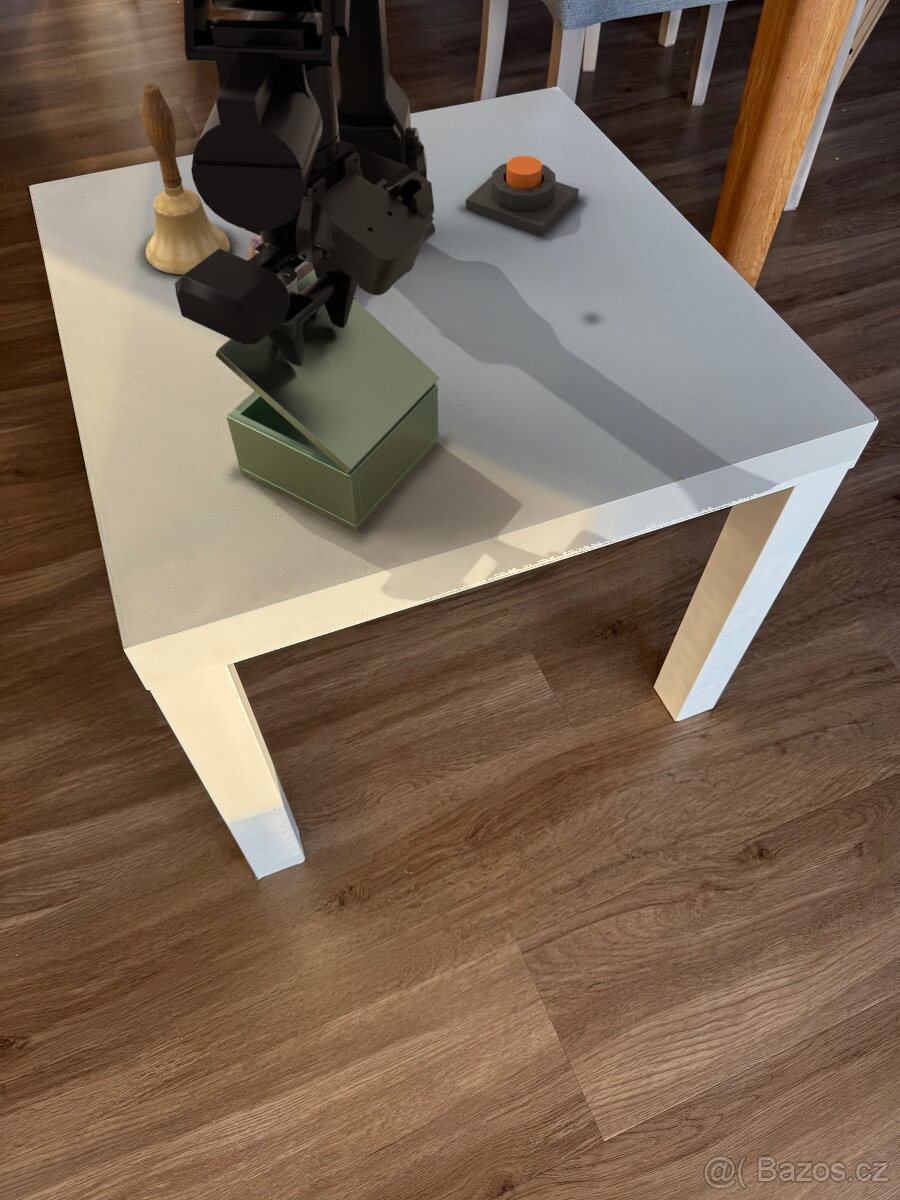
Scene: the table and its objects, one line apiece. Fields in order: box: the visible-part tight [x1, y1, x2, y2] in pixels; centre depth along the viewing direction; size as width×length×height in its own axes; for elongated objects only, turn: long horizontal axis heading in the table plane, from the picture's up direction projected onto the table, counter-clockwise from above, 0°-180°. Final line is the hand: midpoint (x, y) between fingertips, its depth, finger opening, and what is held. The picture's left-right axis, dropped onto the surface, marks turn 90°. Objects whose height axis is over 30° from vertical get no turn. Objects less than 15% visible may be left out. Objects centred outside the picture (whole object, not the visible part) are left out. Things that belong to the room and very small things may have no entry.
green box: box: [226, 383, 439, 533], centre depth 75 cm, size 12×12×6 cm
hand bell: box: [142, 83, 231, 276], centre depth 88 cm, size 8×8×16 cm
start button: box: [506, 155, 543, 189], centre depth 97 cm, size 4×4×2 cm
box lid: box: [215, 269, 440, 474], centre depth 68 cm, size 12×12×5 cm
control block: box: [465, 162, 580, 237], centre depth 98 cm, size 9×8×3 cm
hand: (318, 344), depth 69 cm, fingers closed on box lid, 5 cm apart
